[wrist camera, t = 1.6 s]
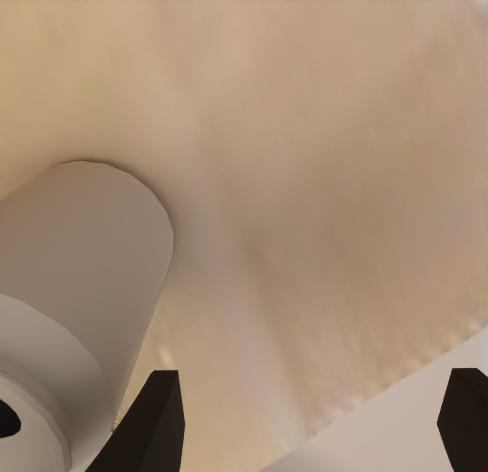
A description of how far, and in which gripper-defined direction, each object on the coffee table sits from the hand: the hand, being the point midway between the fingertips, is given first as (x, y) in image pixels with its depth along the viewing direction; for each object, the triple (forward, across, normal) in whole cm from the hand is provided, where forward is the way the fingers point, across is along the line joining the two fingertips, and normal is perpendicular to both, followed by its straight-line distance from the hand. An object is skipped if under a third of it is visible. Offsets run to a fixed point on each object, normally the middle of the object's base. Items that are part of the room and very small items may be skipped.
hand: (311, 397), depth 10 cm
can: (+11, +9, 0) cm, 14 cm away
